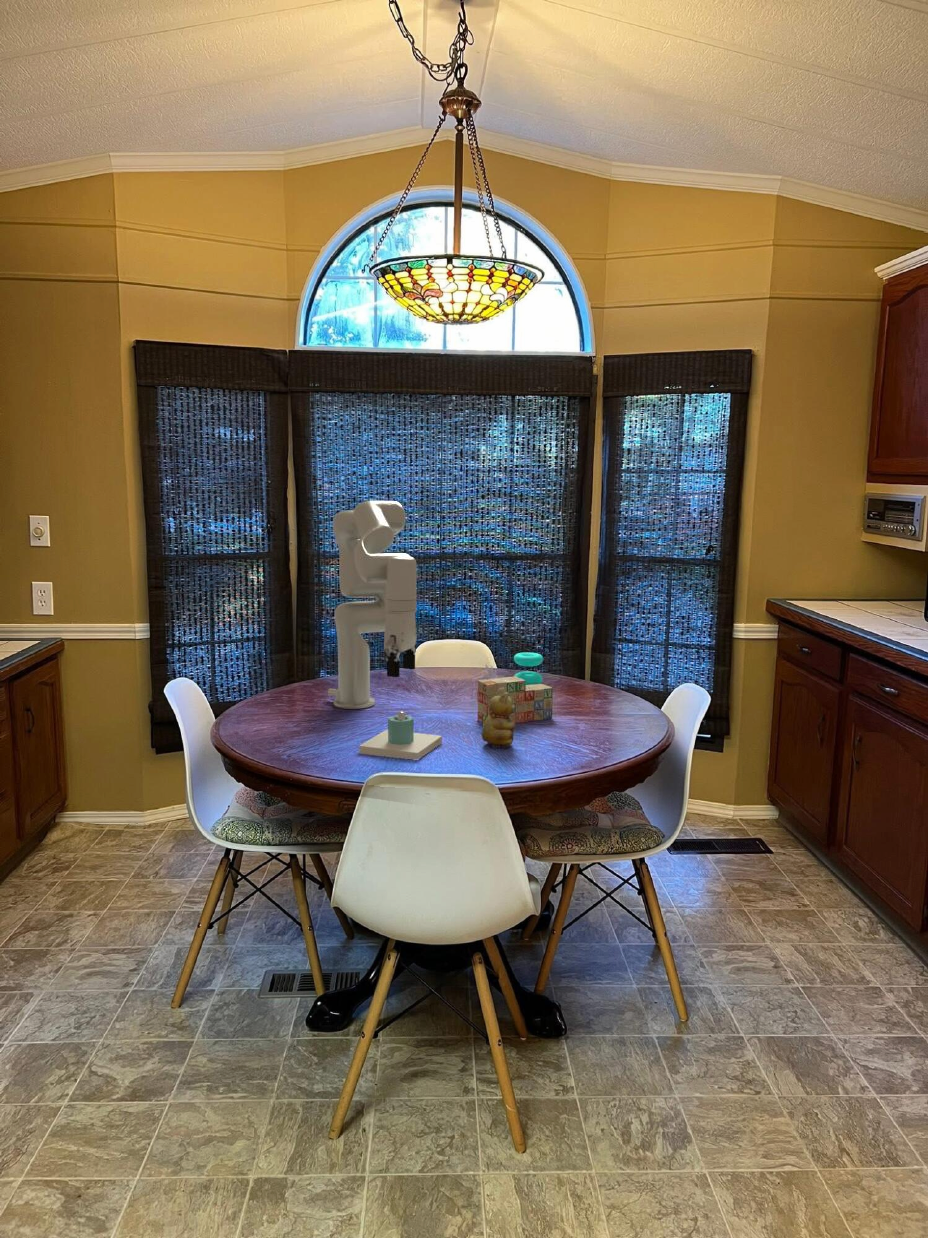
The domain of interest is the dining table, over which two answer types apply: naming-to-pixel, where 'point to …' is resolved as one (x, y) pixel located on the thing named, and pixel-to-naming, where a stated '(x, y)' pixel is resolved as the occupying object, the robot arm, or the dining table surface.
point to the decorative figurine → (499, 721)
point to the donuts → (529, 660)
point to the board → (409, 751)
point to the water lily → (492, 673)
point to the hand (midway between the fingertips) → (401, 672)
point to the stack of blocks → (516, 699)
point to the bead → (400, 730)
